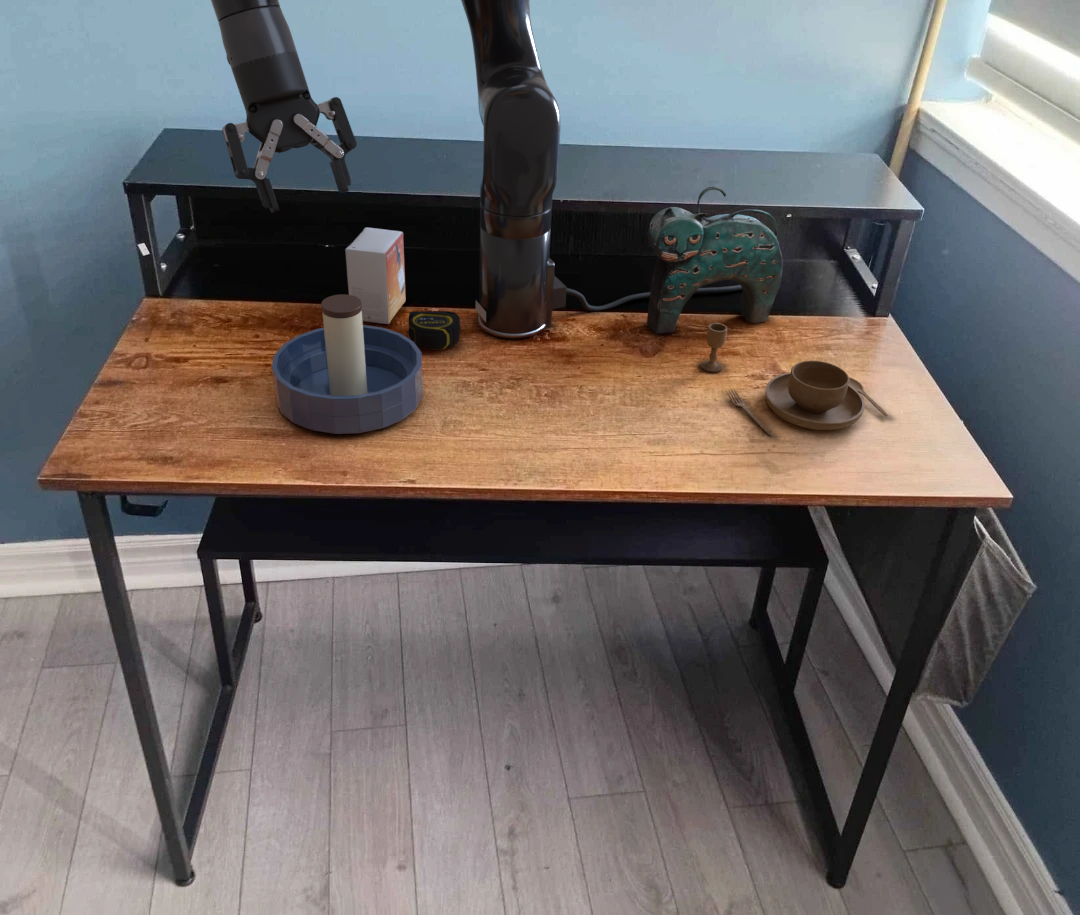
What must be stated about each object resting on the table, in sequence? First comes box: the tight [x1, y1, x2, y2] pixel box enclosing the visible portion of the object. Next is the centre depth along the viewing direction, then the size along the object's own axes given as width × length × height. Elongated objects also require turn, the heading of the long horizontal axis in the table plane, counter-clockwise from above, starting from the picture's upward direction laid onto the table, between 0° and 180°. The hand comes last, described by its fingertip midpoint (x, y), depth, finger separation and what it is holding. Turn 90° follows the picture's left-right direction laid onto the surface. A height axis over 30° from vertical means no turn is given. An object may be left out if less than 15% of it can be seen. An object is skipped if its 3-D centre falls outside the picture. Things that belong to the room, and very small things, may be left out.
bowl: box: [271, 324, 424, 435], centre depth 116 cm, size 17×17×6 cm
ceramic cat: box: [646, 186, 784, 335], centre depth 132 cm, size 20×6×20 cm, turn 106°
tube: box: [320, 293, 367, 396], centre depth 114 cm, size 4×4×12 cm
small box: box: [344, 227, 407, 325], centre depth 134 cm, size 8×6×10 cm
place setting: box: [700, 322, 889, 437], centre depth 122 cm, size 18×20×6 cm
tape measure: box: [407, 310, 461, 351], centre depth 129 cm, size 7×7×4 cm
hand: (310, 201), depth 115 cm, fingers open, 8 cm apart
